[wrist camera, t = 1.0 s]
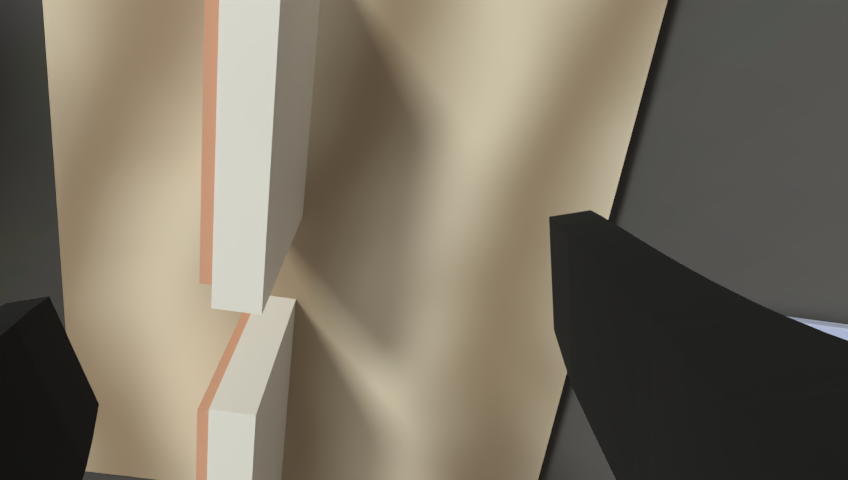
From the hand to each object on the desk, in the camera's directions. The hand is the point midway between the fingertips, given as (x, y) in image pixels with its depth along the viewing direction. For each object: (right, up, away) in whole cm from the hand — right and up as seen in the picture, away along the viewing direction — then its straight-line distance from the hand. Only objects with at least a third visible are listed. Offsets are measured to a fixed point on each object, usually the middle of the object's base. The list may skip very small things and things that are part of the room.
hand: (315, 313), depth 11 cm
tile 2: (-4, -4, +15) cm, 16 cm away
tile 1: (-2, +6, +11) cm, 12 cm away
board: (-1, +2, +13) cm, 13 cm away
